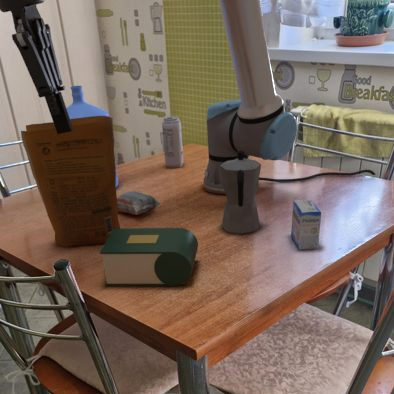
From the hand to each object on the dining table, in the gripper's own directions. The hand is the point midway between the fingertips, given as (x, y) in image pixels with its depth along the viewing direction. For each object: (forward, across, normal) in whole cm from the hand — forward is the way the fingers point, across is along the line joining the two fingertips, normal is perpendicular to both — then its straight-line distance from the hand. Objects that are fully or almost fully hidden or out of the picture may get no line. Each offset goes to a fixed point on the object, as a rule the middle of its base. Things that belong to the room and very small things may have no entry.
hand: (65, 131), depth 96 cm
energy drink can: (+32, -75, +6) cm, 82 cm away
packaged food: (+30, -32, 0) cm, 44 cm away
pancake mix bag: (+28, -13, -8) cm, 32 cm away
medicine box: (+35, -10, +42) cm, 56 cm away
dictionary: (+30, +3, +10) cm, 32 cm away
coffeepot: (+33, -20, +28) cm, 48 cm away
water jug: (+28, -54, -17) cm, 63 cm away
